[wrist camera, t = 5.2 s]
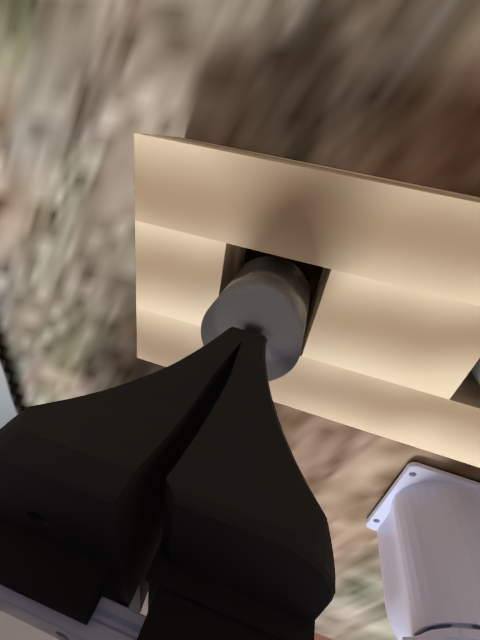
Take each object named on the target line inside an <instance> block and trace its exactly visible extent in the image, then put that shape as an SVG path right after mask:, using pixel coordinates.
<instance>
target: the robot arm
mask: <svg viewBox="0 0 480 640" xmlns="http://www.w3.org/2000/svg"><path fill="white" fill-rule="evenodd" d="M266 343H267V338H266V337H265V336H263V335H260V334H256V333H253V332H249V331H246V330H242V329H239V328H236V327H230V328H228V329H227V330H226V331H224V332H223V333H222V334H220V335H219V336H218V337H216V338H215V339H213V340H212V341H210V342H209V343H207V344H206V345H204V346H203V347H201V348H200V349H198V350H197V351H195V352H193V353H192V354H190V355H188V356H186V357H185V358H183V359H181V360H179V361H178V362H176V363H174V364H172V365H170V366H168V367H166V368H164V369H162V370H159V371H157V372H155V373H153V374H150V375H148V376H145V377H143V378H140V379H137V380H134V381H131V382H129V383H126V384H123V385H120V386H117V387H114V388H110V389H107V390H104V391H100V392H96V393H92V394H88V395H85V396H80V397H76V398H72V399H67V400H62V401H57V402H52V403H46V404H41V405H36V406H30V407H27V408H26V409H25V410H23V411H22V412H21V413H19V414H18V415H17V416H16V417H14V418H13V419H12V420H11V421H9V422H8V423H7V424H6V425H5V426H4V427H2V428H1V429H0V611H2V612H4V613H6V614H8V615H10V616H12V617H15V618H17V619H19V620H21V621H23V622H25V623H27V624H29V625H31V626H33V627H35V628H37V629H39V630H41V631H43V632H45V633H47V634H49V635H51V636H53V637H55V638H57V639H60V640H314V628H315V620H316V618H317V617H318V616H319V615H320V614H321V613H322V611H323V610H324V609H325V608H326V607H327V606H328V604H329V603H330V602H331V601H332V599H333V596H334V594H335V566H334V557H333V550H332V543H331V537H330V532H329V527H328V522H327V517H326V516H325V514H324V512H323V511H322V509H321V507H320V506H319V504H318V502H317V501H316V499H315V497H314V495H313V494H312V492H311V490H310V488H309V486H308V485H307V483H306V481H305V479H304V477H303V475H302V473H301V471H300V469H299V467H298V465H297V463H296V461H295V459H294V457H293V454H292V452H291V450H290V447H289V445H288V443H287V441H286V438H285V436H284V434H283V431H282V428H281V425H280V423H279V420H278V417H277V413H276V410H275V407H274V403H273V400H272V396H271V391H270V387H269V381H268V375H267V367H266ZM366 526H367V527H368V528H370V529H372V530H375V531H377V537H378V546H379V555H380V563H381V572H382V581H383V590H384V599H385V607H386V612H387V616H388V619H389V622H390V624H391V627H392V629H393V631H394V633H395V635H396V637H397V639H398V640H480V483H479V482H476V481H473V480H469V479H466V478H463V477H460V476H457V475H454V474H451V473H448V472H445V471H442V470H439V469H436V468H433V467H430V466H427V465H424V464H421V463H418V462H411V463H409V464H408V465H407V466H406V468H405V469H404V470H403V472H402V473H401V474H400V476H399V477H398V478H397V480H396V481H395V482H394V484H393V485H392V486H391V488H390V489H389V490H388V492H387V493H386V494H385V496H384V497H383V498H382V500H381V501H380V502H379V504H378V505H377V507H376V508H375V509H374V511H373V512H372V513H371V515H370V516H369V517H368V519H367V520H366ZM147 593H148V613H147V616H145V615H143V614H140V612H141V610H142V607H143V604H144V601H145V599H146V596H147Z"/></svg>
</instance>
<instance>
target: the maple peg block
mask: <svg viewBox="0 0 480 640" xmlns="http://www.w3.org/2000/svg"><path fill="white" fill-rule="evenodd" d="M134 179H135V249H136V319H137V358H139V359H142V360H145V361H149V362H152V363H155V364H158V365H161V366H164V367H168V366H170V365H172V364H174V363H176V362H178V361H179V360H181V359H183V358H185V357H186V356H188V355H190V354H192V353H193V352H195V351H197V350H198V349H200V348H201V347H203V343H202V339H201V324H202V320H203V317H204V315H205V313H206V311H207V310H208V309H209V307H210V306H211V305H212V304H213V302H214V301H215V300H216V299H217V297H218V296H219V295H220V294H221V292H222V291H223V290H224V289H225V288H226V286H227V285H228V284H229V283H230V281H231V280H232V279H233V278H234V276H235V275H236V274H237V273H238V271H239V270H240V269H241V268H242V267H243V266H244V261H245V255H246V250H247V248H248V249H252V250H256V251H260V252H264V253H268V254H272V255H276V256H280V257H284V258H288V259H292V260H296V261H300V262H304V263H308V264H312V265H316V266H320V267H323V270H322V273H321V276H320V279H319V282H318V285H317V289H316V292H315V295H314V298H313V301H312V304H311V307H310V310H309V313H307V320H306V326H305V332H304V338H303V344H302V350H301V354H300V357H299V359H298V362H297V363H296V365H295V366H294V367H293V368H292V370H291V371H289V372H288V373H287V374H285V375H284V376H282V377H280V378H278V379H275V380H272V381H269V387H270V391H271V396H272V400H273V402H276V403H280V404H283V405H286V406H289V407H292V408H295V409H298V410H301V411H304V412H308V413H311V414H314V415H317V416H320V417H323V418H326V419H329V420H332V421H336V422H339V423H342V424H345V425H348V426H351V427H354V428H357V429H361V430H364V431H367V432H370V433H373V434H376V435H379V436H382V437H385V438H389V439H392V440H395V441H398V442H401V443H404V444H407V445H410V446H414V447H417V448H420V449H423V450H426V451H429V452H432V453H435V454H438V455H442V456H445V457H448V458H451V459H454V460H457V461H460V462H463V463H467V464H470V465H473V466H476V467H479V468H480V385H479V384H478V382H477V381H476V379H475V377H474V376H473V374H472V373H471V369H472V368H473V367H474V365H475V364H476V362H477V361H478V360H479V358H480V197H477V196H472V195H467V194H462V193H457V192H452V191H447V190H442V189H437V188H432V187H427V186H422V185H417V184H412V183H407V182H402V181H397V180H392V179H387V178H382V177H377V176H372V175H367V174H362V173H357V172H352V171H347V170H342V169H337V168H332V167H327V166H322V165H317V164H312V163H307V162H302V161H297V160H292V159H287V158H282V157H277V156H272V155H267V154H262V153H257V152H252V151H247V150H242V149H237V148H232V147H227V146H222V145H217V144H212V143H207V142H202V141H197V140H192V139H187V138H179V137H170V136H160V135H150V134H140V133H134Z"/></svg>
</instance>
